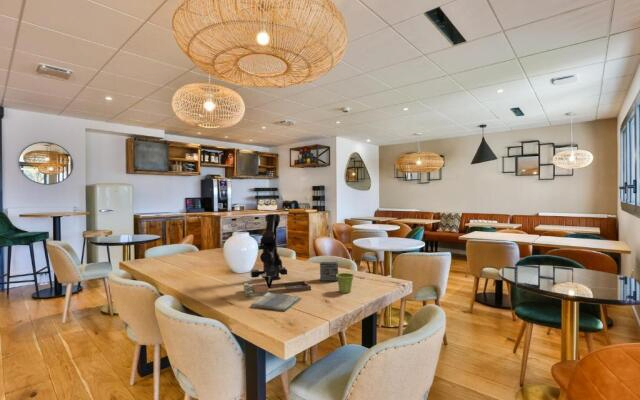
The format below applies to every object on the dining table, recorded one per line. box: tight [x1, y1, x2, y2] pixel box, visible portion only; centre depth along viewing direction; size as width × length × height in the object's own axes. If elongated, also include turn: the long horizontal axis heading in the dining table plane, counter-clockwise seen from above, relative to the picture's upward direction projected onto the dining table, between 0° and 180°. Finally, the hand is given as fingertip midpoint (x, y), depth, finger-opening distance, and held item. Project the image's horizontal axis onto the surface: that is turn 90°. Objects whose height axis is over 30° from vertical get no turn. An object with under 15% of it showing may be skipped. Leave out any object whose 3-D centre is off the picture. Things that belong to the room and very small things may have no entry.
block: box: [251, 283, 269, 292], centre depth 166 cm, size 7×7×4 cm
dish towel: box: [250, 292, 302, 313], centre depth 150 cm, size 19×18×3 cm
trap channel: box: [243, 280, 312, 298], centre depth 170 cm, size 12×34×4 cm, turn 109°
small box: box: [319, 261, 339, 283], centre depth 189 cm, size 11×6×10 cm, turn 84°
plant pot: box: [336, 272, 355, 294], centre depth 166 cm, size 9×9×9 cm
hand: (269, 288), depth 169 cm, fingers closed
